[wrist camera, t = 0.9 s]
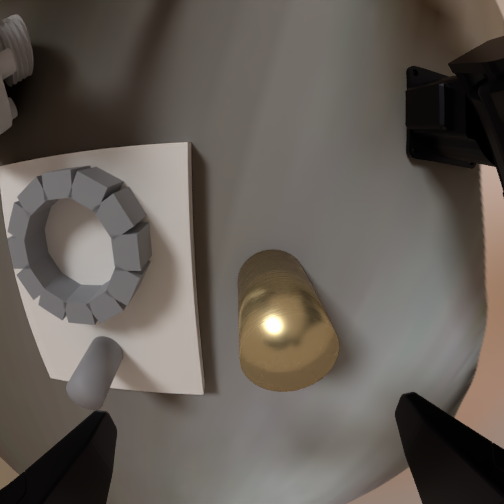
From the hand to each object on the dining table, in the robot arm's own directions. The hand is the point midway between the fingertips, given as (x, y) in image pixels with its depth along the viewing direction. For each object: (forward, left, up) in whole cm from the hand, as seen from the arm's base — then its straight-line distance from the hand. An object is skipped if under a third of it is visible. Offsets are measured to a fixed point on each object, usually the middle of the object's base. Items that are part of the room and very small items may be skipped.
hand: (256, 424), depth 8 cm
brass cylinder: (-2, +2, -13) cm, 13 cm away
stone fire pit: (+10, +2, -13) cm, 17 cm away
